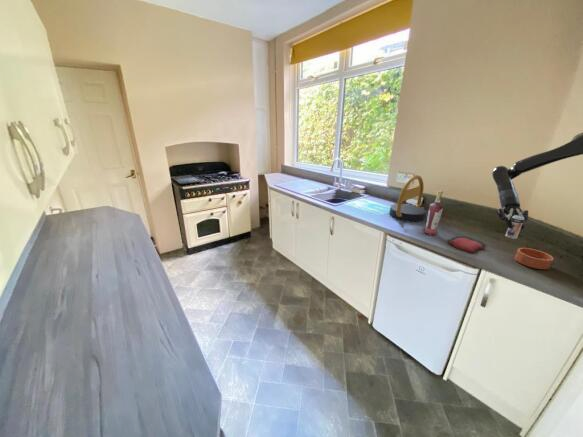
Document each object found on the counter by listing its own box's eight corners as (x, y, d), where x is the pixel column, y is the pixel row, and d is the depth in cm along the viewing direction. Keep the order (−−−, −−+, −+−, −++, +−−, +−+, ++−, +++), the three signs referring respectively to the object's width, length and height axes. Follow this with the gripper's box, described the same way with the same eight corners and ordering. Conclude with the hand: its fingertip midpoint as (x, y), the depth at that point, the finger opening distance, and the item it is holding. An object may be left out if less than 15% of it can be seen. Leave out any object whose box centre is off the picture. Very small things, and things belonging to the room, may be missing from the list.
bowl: (549, 264, 117) (554, 254, 115) (547, 273, 109) (552, 263, 107) (516, 254, 126) (519, 245, 124) (512, 262, 118) (515, 252, 116)
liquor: (432, 237, 145) (443, 193, 135) (420, 232, 151) (430, 190, 140) (438, 234, 149) (449, 191, 139) (427, 230, 154) (437, 188, 144)
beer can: (502, 236, 126) (510, 215, 121) (508, 234, 128) (516, 214, 123) (513, 240, 122) (521, 218, 117) (518, 238, 123) (527, 217, 119)
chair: (433, 216, 180) (443, 175, 169) (411, 227, 160) (421, 181, 148) (401, 207, 198) (409, 170, 187) (378, 216, 177) (385, 175, 166)
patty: (471, 254, 125) (472, 251, 124) (444, 244, 136) (445, 241, 135) (487, 247, 133) (488, 244, 132) (460, 237, 144) (461, 234, 143)
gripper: (498, 194, 126) (506, 224, 119) (529, 196, 123) (538, 226, 117) (489, 201, 132) (496, 229, 126) (518, 203, 130) (526, 231, 124)
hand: (516, 227), depth 121 cm, fingers closed on beer can, 5 cm apart
